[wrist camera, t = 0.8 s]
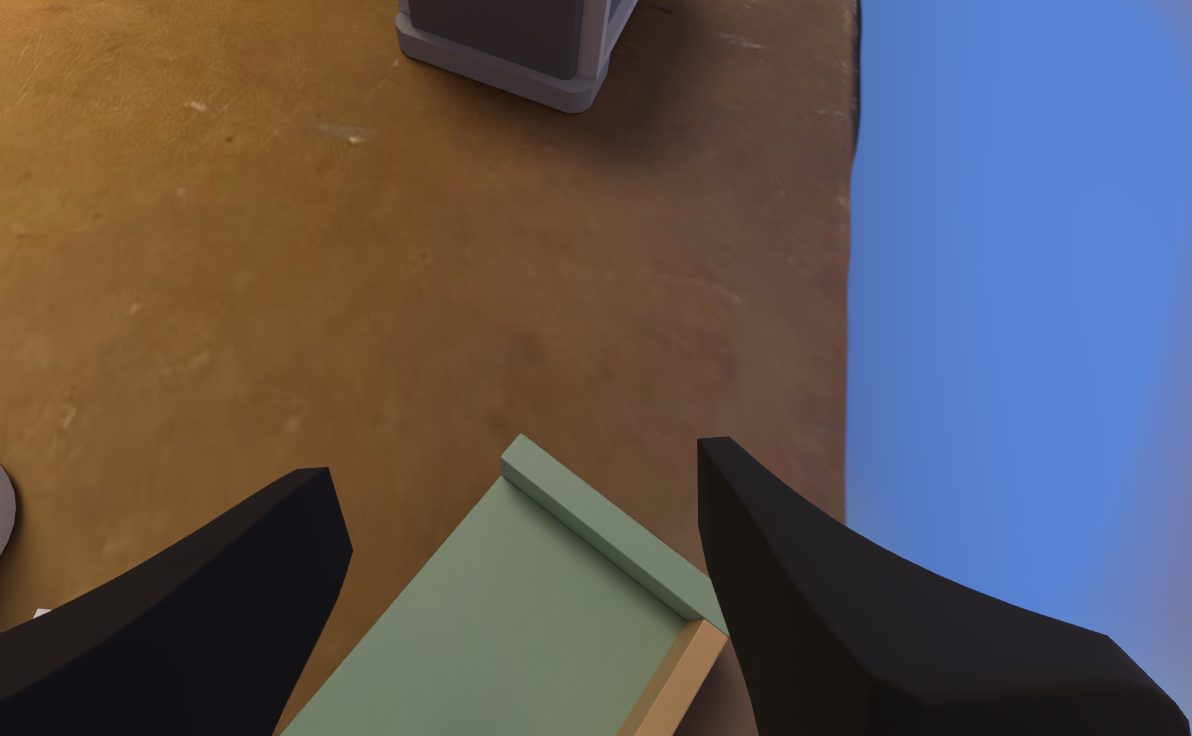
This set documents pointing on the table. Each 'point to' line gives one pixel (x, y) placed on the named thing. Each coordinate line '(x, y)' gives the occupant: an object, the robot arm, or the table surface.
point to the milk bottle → (6, 509)
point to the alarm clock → (519, 43)
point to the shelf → (532, 625)
